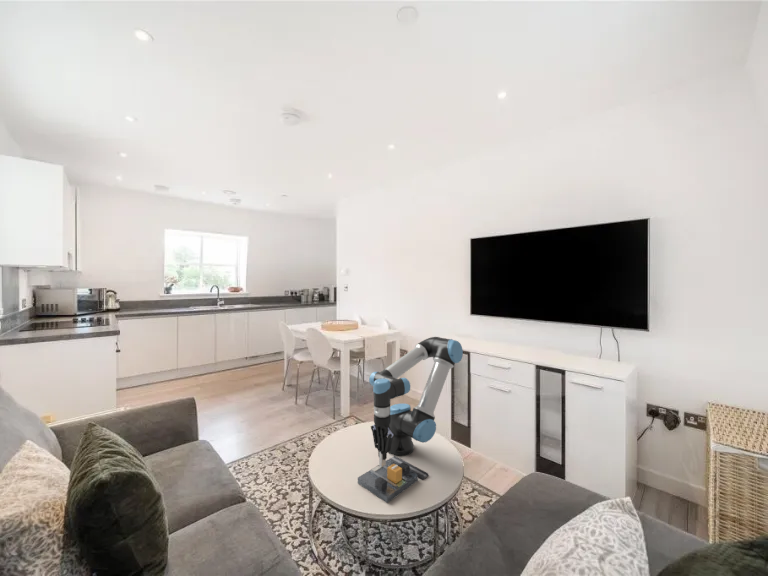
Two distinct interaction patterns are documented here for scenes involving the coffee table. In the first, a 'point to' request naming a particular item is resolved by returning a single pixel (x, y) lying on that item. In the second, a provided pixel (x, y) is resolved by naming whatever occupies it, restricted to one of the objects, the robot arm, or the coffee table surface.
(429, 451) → the coffee table surface
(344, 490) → the coffee table surface
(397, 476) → the slider
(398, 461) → the grey cylinders
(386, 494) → the panel
